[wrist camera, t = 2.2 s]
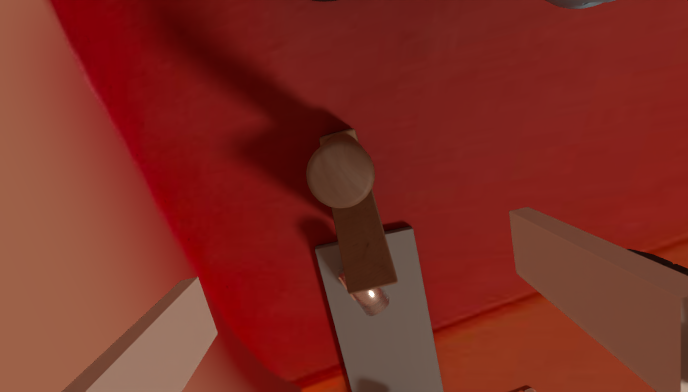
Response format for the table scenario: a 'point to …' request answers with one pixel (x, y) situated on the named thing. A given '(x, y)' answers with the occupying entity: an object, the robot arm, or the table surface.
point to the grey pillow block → (368, 298)
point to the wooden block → (352, 209)
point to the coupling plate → (385, 324)
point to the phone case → (530, 390)
